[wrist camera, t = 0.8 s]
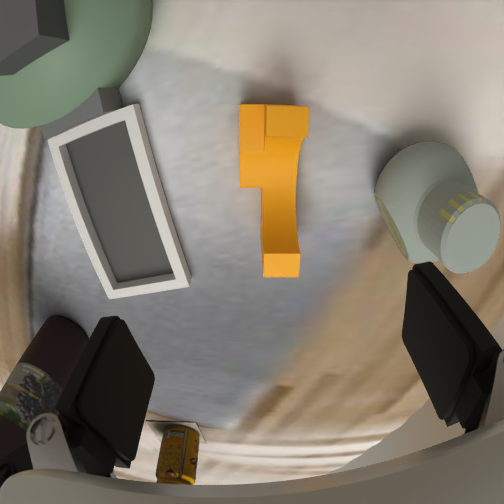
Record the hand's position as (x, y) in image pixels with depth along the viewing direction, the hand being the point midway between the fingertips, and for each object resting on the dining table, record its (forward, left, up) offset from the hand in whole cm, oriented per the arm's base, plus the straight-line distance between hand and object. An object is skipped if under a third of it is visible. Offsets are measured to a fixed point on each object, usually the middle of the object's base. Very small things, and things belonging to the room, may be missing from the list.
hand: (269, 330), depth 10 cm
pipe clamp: (-1, 0, -19) cm, 19 cm away
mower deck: (+14, -9, -18) cm, 25 cm away
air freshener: (-14, +4, -19) cm, 24 cm away
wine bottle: (+28, +14, -19) cm, 36 cm away
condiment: (+21, +37, -19) cm, 46 cm away
